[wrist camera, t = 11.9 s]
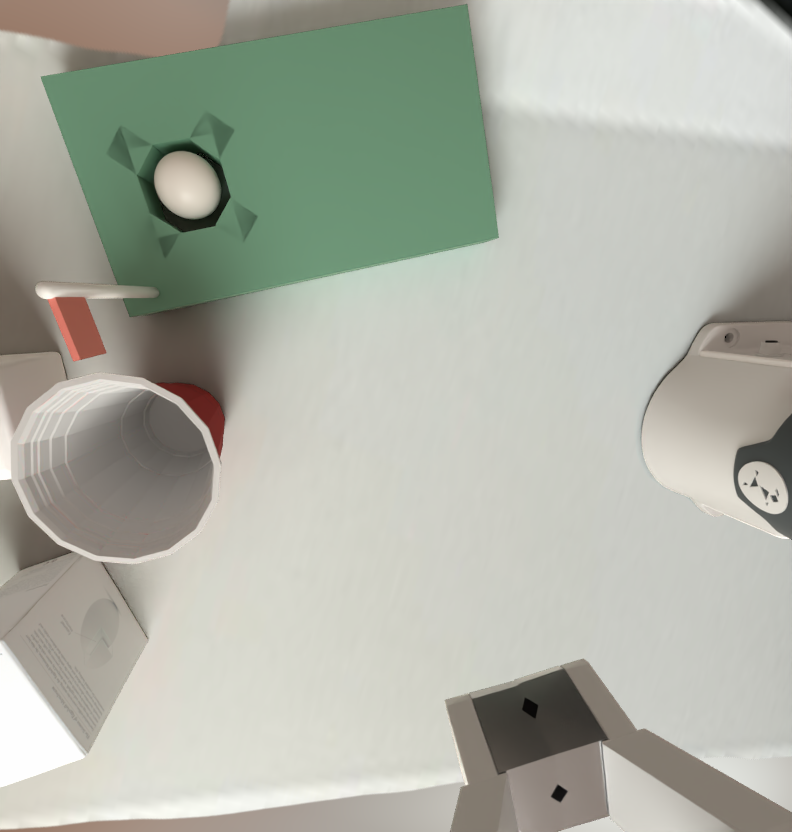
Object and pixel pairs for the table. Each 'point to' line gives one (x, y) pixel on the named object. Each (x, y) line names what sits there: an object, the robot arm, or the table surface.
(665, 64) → the table surface
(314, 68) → the putting deck
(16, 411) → the medicine bottle
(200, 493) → the plastic cup
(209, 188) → the ball
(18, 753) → the skincare box
